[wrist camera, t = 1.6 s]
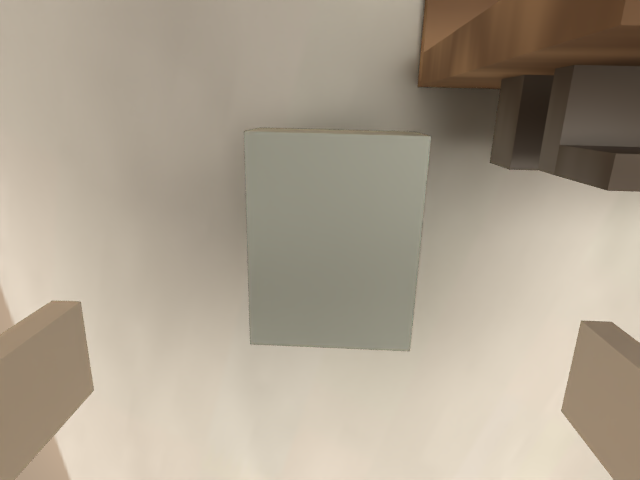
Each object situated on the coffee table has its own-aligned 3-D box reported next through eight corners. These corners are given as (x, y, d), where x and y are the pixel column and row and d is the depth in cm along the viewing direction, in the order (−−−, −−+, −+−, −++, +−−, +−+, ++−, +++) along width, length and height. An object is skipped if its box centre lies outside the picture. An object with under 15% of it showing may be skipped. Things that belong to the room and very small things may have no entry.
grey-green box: (280, 123, 22) (243, 131, 14) (394, 126, 22) (431, 136, 13) (281, 278, 25) (250, 367, 16) (383, 281, 25) (407, 374, 16)
